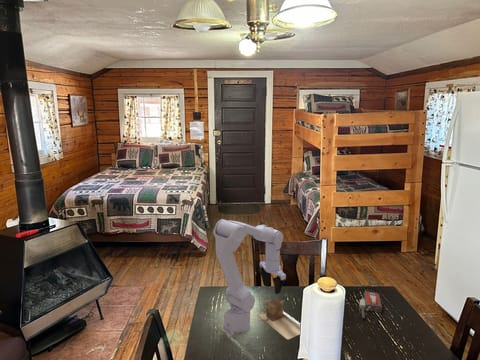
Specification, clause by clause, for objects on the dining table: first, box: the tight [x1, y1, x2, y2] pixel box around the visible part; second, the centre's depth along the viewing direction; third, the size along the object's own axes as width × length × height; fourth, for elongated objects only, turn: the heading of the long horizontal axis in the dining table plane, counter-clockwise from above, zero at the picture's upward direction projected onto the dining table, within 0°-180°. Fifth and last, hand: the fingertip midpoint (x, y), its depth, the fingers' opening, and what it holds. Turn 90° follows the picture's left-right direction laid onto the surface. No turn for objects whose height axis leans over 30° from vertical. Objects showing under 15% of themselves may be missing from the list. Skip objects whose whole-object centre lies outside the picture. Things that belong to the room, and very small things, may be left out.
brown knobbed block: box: [265, 298, 285, 321], centre depth 139 cm, size 8×4×6 cm, turn 123°
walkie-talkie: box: [359, 290, 383, 319], centre depth 148 cm, size 9×4×20 cm
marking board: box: [257, 310, 302, 341], centre depth 136 cm, size 9×18×3 cm, turn 33°
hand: (271, 289), depth 145 cm, fingers open, 7 cm apart
